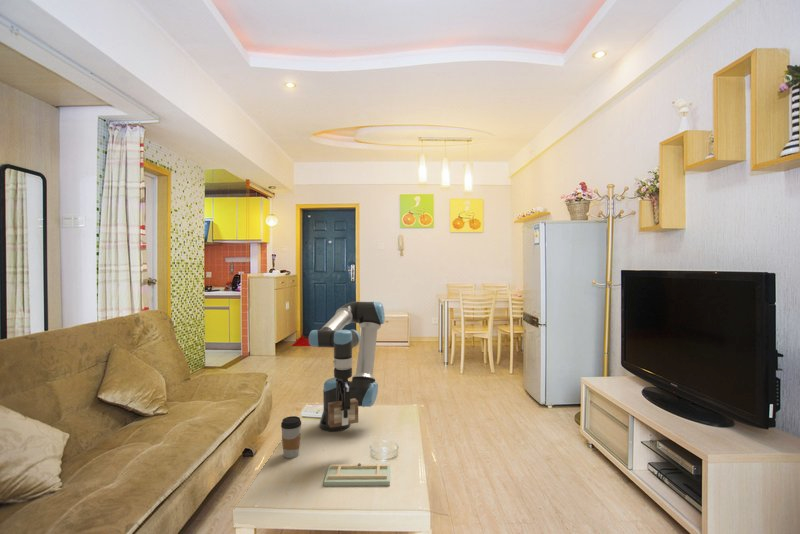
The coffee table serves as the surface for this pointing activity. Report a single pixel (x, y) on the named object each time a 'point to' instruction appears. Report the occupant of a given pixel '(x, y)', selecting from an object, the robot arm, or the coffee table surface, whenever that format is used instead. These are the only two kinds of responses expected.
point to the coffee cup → (291, 436)
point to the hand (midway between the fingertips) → (343, 422)
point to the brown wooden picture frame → (336, 413)
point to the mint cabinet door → (357, 475)
